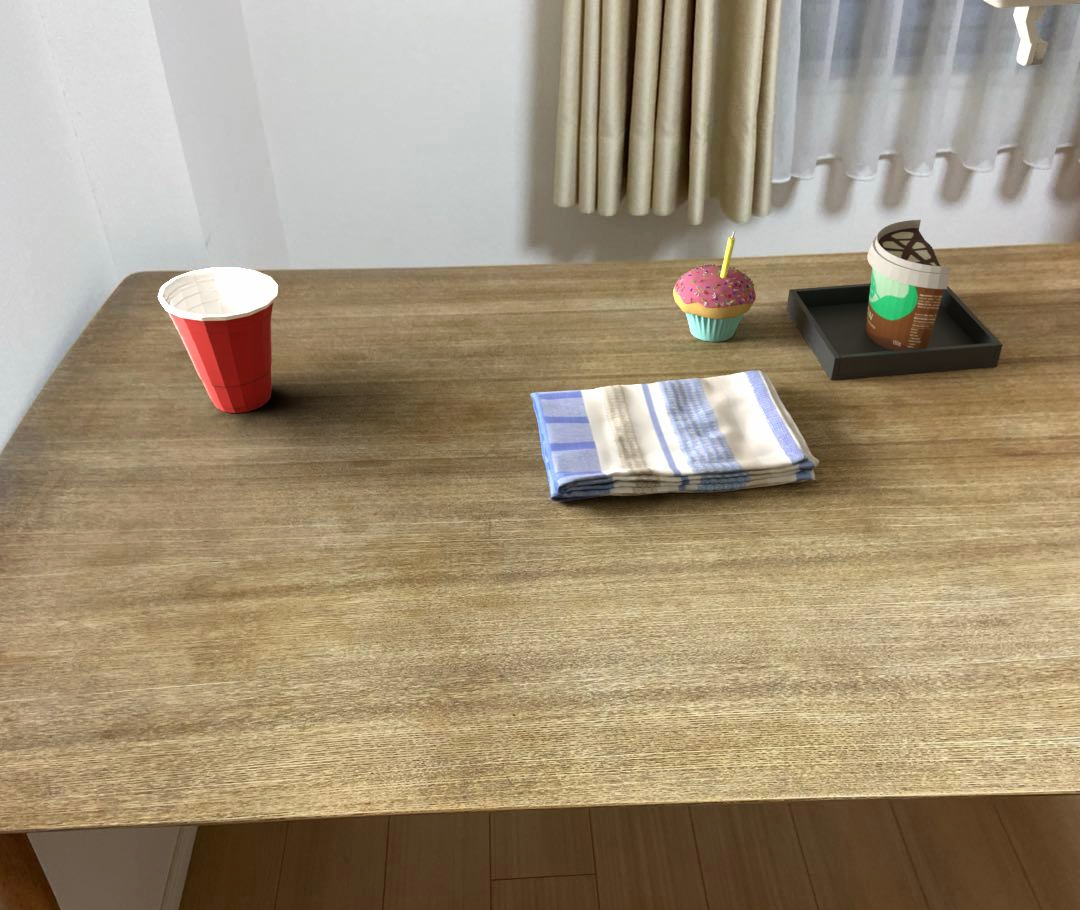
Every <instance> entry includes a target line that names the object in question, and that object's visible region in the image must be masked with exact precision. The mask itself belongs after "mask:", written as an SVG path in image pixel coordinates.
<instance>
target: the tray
mask: <svg viewBox="0 0 1080 910" xmlns="http://www.w3.org/2000/svg"><path fill="white" fill-rule="evenodd" d="M870 286H871V282H870V283H857V284H845V285H843V284H842V285H831V286H819V287H818V286H817V287H805V288H791V289H790V288H789V290H788V296H787V302H786V308H785V309H786V312H787V313H788V315H789V316H790V318H791V320H792V322H793V323H794V324H795V326H796V328H797V329H798V330H799V332H800V334H801V335H802V337H803V338H804V340H805V342H806V344H807V345H808V347H809V348H810V349H811V352H812V353H813V354H814V356H815V357H816V359H817V361H818V362H819V363H820V366H821V367H822V368H823V370H824V371H825V373H826V375H827V376H828V379H830V381H837V380H838V381H839V380H848V379H861V378H873V377H886V376H895V375H896V376H900V375H909V374H922V373H924V374H925V373H937V372H949V371H956V370H957V371H960V370H970V369H971V370H973V369H983V368H997V366H998V362H999V359H1000V357H1001V354H1002V350H1003V346H1004V344H1003V343H1002V342H1001V341H1000V340H999V339H998V338H997V337H996V336H995V334H994V333H992V332H991V330H989V328H988V327H987V326H986V325H985V324H984V323H983V321H982V320H981V319H979V318H978V316H977V315H976V314H975V313H974V312H973V311H972V310H971V309H970V307H968V306H967V304H966V303H965V302H964V301H963V300H962V299H961V298H960V297H959V296H958V295H957V294H956V293H955V292H954V291H953V289H951V287H949V285H948V286H947V289H944V292H943V295H942V299H941V302H940V305H939V309H938V312H937V316H936V319H935V323H934V326H933V329H932V333H931V336H930V340H929V343H928V347H927V348H922V349H909V350H897V351H894V350H891V349H888V348H885V347H883V346H881V345H879V344H877V343H875V342H874V341H873V340H871V339H870V337H869V336H868V335H867V333H866V330H865V329H866V321H867V312H868V303H869V294H870Z"/></svg>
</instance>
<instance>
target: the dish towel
mask: <svg viewBox="0 0 1080 910" xmlns="http://www.w3.org/2000/svg"><path fill="white" fill-rule="evenodd" d="M530 398H531V401H532V407H533V410H534V414H535V416H536V421H537V422H536V423H537V427H538V432H539V433H538V434H539V441H540V447H541V449H540V450H541V456H542V460H543V462H544V466H545V471H546V472H545V473H546V475H547V481H548V486H549V492H550V499H551V501H554V502H558V503H559V502H569V501H576V500H585V499H586V500H587V499H592V498H593V499H594V498H599V497H605V496H621V497H625V496H627V497H628V496H631V497H632V496H646V495H652V494H653V495H654V494H669V493H670V494H671V493H672V494H675V493H689V494H696V493H699V494H700V493H722V492H723V493H724V492H734V491H738V490H746V489H754V488H762V487H763V488H764V487H773V486H774V487H775V486H780V485H787V484H799V483H804V482H808V481H815V480H816V473H815V470H814V469H815V468H816V467H817V466H819V464H820V462H821V461H820V460H819V459H818V458H817V457H815V456H814V455H813V453H812V451H811V450H810V448H809V446H808V444H807V443H808V442H807V441H806V439H805V437H804V436H803V435H802V432H801V430H800V429H799V427H798V425H797V424H796V422H795V421H794V419H793V417H792V415H791V413H790V412H789V411H788V410H787V408H786V406H785V405H784V403H783V401H782V400H781V398H780V396H779V393H778V391H777V388H776V387H775V385H774V384H773V382H772V380H771V379H770V377H769V376H768V374H767V373H766V372H765V371H762V370H760V369H757V370H755V369H753V370H746V371H741V372H737V373H732V374H727V375H726V374H725V375H718V376H711V377H704V378H700V377H694V378H684V379H670V380H660V381H656V382H652V383H637V384H636V383H635V384H634V383H633V384H615V385H606V386H600V387H596V388H594V389H577V390H576V389H575V390H574V389H571V390H570V389H569V390H555V391H538V392H532V393H530Z"/></svg>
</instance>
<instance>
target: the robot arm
mask: <svg viewBox="0 0 1080 910" xmlns="http://www.w3.org/2000/svg"><path fill="white" fill-rule="evenodd" d="M982 1H983V2H985V3H987V4H988V5H991V6H993V7H994V8H998V9H1010V8H1011V9H1012V8H1014V10H1013V14H1012V16H1013V20H1014V23H1015V26H1016V29H1017V33H1018V37H1019V39H1020V41H1019V45H1018V50H1017V52H1016V63H1017V64H1019V65H1021V66H1022V67H1023V66H1024V67H1029V66H1039V65H1042V64H1043V63H1044V61H1045V58H1046V57H1045V54H1046V52H1047V51H1048V47H1049V42H1048V41H1046V40H1044V39H1042V38H1041V37H1039V34H1038V30H1037V25H1036V22H1038V21H1042V20H1043V18H1044V15H1045V13H1046V12H1045V11H1046V7H1047V6H1065V5H1080V0H982Z"/></svg>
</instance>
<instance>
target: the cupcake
mask: <svg viewBox="0 0 1080 910" xmlns="http://www.w3.org/2000/svg"><path fill="white" fill-rule="evenodd" d="M735 234H736V231H735V230H734V231H732V235H731V236H729V237H728V238H727V243H726V248H725V253H724V257H723V262H722V265H721V264H718V265H715V263H712V264H702V265H698V266H696V267H693V268H692V269H688V271H686V273H684V274H681V277H680V278H679V279H678V280H677V281H676V283H675V285H674V287H673V290H672V291H673V292H672V295H673V299H674V302H675V303H676V305H677V306H678V307H679V309H680V310H681V311H682V312H683V313H684V314H685V316H686V319H687V323H688V326H689V331H690V334H691V335H692V336H693V337H694V338H695V339H698V340H701V341H704V342H709V343H710V342H711V343H718V342H724V341H728V340H729V339H731V338H732V337H733V336H734V335H735V333H736V331H737V329H738V326H739V324H740V322H741V321H742V319H743V317H744V316H745V314H747V313H748V312H749V311H750V310H751V308H752V306H753V305H754V303H755V301H756V299H757V294H756V290H755V283H753V280H752V279H751V278H749V276H748V275H747V274H746V273H743V272H742V271H740V270H739V269H736V268H735V267H730V265H731V264H730V263H731V259H732V256H733V250H734V245H735V241H736V238H735Z"/></svg>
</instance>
